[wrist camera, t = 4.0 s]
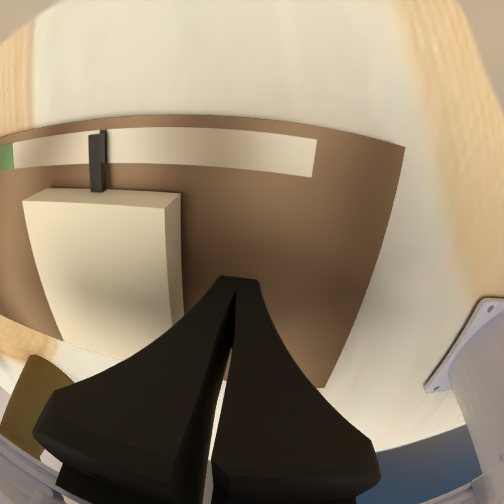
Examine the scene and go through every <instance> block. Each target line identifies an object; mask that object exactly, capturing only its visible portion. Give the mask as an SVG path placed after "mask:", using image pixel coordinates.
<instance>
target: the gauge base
mask: <svg viewBox="0 0 504 504" xmlns="http://www.w3.org/2000/svg"><path fill="white" fill-rule="evenodd" d="M99 133H105V172H106V189H111V190H134V191H152V192H168V193H181V266H182V289H183V307H184V315H185V314H186V313H187V312H188V311H189V310H190V309H191V308H192V307H193V306H194V305H195V304H196V303H197V302H198V301H199V300H200V299H201V298H202V297H203V295H204V294H205V293H206V292H207V291H208V290H209V288H210V287H211V286H212V285H213V283H214V282H215V281H216V279H217V278H218V277H219V276H221V275H223V276H231V277H240V278H248V279H257V280H258V281H259V282H260V288H261V292H262V296H263V299H264V302H265V305H266V307H267V310H268V312H269V314H270V317H271V319H272V321H273V324H274V326H275V328H276V330H277V332H278V334H279V335H280V337H281V339H282V341H283V343H284V344H285V346H286V348H287V350H288V351H289V353H290V354H291V356H292V357H293V359H294V360H295V362H296V363H297V365H298V366H299V368H300V369H301V370H302V372H303V373H304V374H305V376H306V377H307V378H308V380H309V381H310V382H311V383H312V384H313V385H314V387H315V388H324V387H325V385H326V383H327V381H328V379H329V377H330V375H331V373H332V371H333V369H334V367H335V365H336V363H337V360H338V358H339V356H340V354H341V352H342V349H343V347H344V345H345V343H346V340H347V338H348V336H349V333H350V331H351V329H352V326H353V324H354V321H355V319H356V316H357V314H358V311H359V309H360V306H361V304H362V301H363V298H364V296H365V293H366V290H367V287H368V285H369V282H370V279H371V276H372V273H373V270H374V267H375V264H376V261H377V258H378V255H379V252H380V249H381V245H382V242H383V239H384V235H385V232H386V228H387V225H388V221H389V217H390V214H391V210H392V206H393V202H394V198H395V194H396V190H397V185H398V181H399V176H400V172H401V167H402V162H403V157H404V151H405V147H403V146H399V145H396V144H393V143H389V142H385V141H381V140H377V139H374V138H369V137H365V136H361V135H357V134H352V133H348V132H343V131H338V130H333V129H328V128H322V127H316V126H310V125H304V124H298V123H291V122H283V121H275V120H266V119H257V118H246V117H232V116H214V115H144V116H127V117H114V118H103V119H94V120H86V121H78V122H72V123H65V124H59V125H53V126H48V127H43V128H38V129H33V130H29V131H24V132H20V133H16V134H12V135H8V136H4V137H1V138H0V315H2V316H4V317H7V318H9V319H11V320H13V321H15V322H17V323H20V324H22V325H24V326H26V327H29V328H31V329H33V330H36V331H38V332H41V333H43V334H46V335H48V336H51V337H53V338H56V339H59V340H61V341H64V340H63V338H62V335H61V333H60V331H59V328H58V326H57V324H56V321H55V319H54V316H53V314H52V311H51V308H50V306H49V303H48V300H47V297H46V295H45V292H44V289H43V286H42V283H41V279H40V276H39V273H38V270H37V266H36V263H35V259H34V255H33V251H32V247H31V243H30V239H29V235H28V230H27V225H26V220H25V215H24V209H23V203H22V201H23V200H25V199H27V198H28V197H30V196H32V195H34V194H36V193H38V192H40V191H42V190H44V189H46V188H68V189H91V188H90V174H89V150H88V135H91V134H99ZM231 350H232V347H231ZM230 361H231V351H230V355H229V359H228V362H227V366H226V370H225V374H224V377H223V380H225V381H227V377H228V372H229V366H230Z"/></svg>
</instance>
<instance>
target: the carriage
mask: <svg viewBox="0 0 504 504" xmlns="http://www.w3.org/2000/svg"><path fill="white" fill-rule="evenodd" d="M88 150H89V174H90V188H91V189H68V188H46V189H44V190H42V191H40V192H38V193H36V194H34V195H32V196H30V197H28V198H27V199H25V200H23V201H22V203H23V209H24V215H25V220H26V225H27V230H28V235H29V239H30V243H31V247H32V251H33V255H34V259H35V263H36V266H37V270H38V273H39V276H40V279H41V283H42V286H43V289H44V292H45V295H46V297H47V300H48V303H49V306H50V308H51V311H52V314H53V316H54V319H55V321H56V324H57V326H58V328H59V331H60V333H61V335H62V338H63V340H64V342H66V343H68V344H71V345H74V346H77V347H80V348H83V349H86V350H89V351H92V352H95V353H99V354H102V355H105V356H109V357H112V358H116V359H119V360H123V361H124V360H125V359H127V358H129V357H130V356H132V355H134V354H135V353H137V352H138V351H140V350H141V349H143V348H144V347H146V346H147V345H149V344H150V343H152V342H153V341H154V340H156V339H157V338H158V337H160V336H161V335H162V334H163V333H165V332H166V331H167V330H168V329H170V328H171V327H172V326H173V325H174V324H175V323H176V322H177V321H179V320H180V319H181V318H182V317H183V316H184V307H183V289H182V266H181V193H168V192H152V191H134V190H111V189H106V172H105V133H99V134H91V135H88Z"/></svg>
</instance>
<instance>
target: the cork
mask: <svg viewBox="0 0 504 504" xmlns="http://www.w3.org/2000/svg"><path fill="white" fill-rule="evenodd" d="M71 384H74V382H73V381H72V380H71V379H70V378H69V377H68V376H67V375H66V374H64V373H63V372H62V371H61V370H60V369H59V368H57V367H56V366H55V365H53V364H52V363H50V362H49V361H47V360H45V359H44V358H42V357H40V356H37V355H30V357H29V358H28V360H27V362H26V364H25V366H24V368H23V371H22V373H21V375H20V377H19V379H18V381H17V384H16V386H15V388H14V391H13V393H12V395H11V398H10V400H9V403H8V405H7V408H6V410H5V413H4V416H3V419H2V421H1V424H0V434H1V435H2V436H4V437H5V438H6V439H8V440H9V441H10V442H12V443H13V444H15V445H16V446H17V447H19V448H20V449H22V450H23V451H25V452H26V453H28V454H29V455H31V456H32V457H34V458H35V459H37V460H38V461H40V462H41V460H40V455H41V454H42V452H43V451H44V449H45V448H44V447H42V446H41V445H40V444H39V443H38V442H37V441H36V440H35V438H34V437H33V435H32V430H33V428H34V426H35V424H36V422H37V420H38V418H39V416H40V414H41V412H42V410H43V408H44V406H45V404H46V403H47V401H48V399H49V398H50V396H51V395H52V393H53V392H54V390H57V389H60V388H63V387H66V386H68V385H71Z"/></svg>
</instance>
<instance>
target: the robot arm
mask: <svg viewBox="0 0 504 504" xmlns="http://www.w3.org/2000/svg"><path fill="white" fill-rule="evenodd" d="M231 347H232V350H231ZM230 351H231V361H230V366H229V372H228V377H227V383H226V388H225V393H224V398H223V403H222V409H221V414H220V418H219V423H218V428H217V433H216V438H215V443H214V447H213V452H212V456H211V464H212V475H213V485H214V487H213V493H212V500H211V504H356V496H358V495H360V494H362V493H363V492H365V491H367V490H369V489H371V488H372V487H373V486H375V485H377V483H378V482H379V481H380V478H381V475H380V470H379V464H378V460H377V456H376V453H375V450H374V447H373V445H372V442H371V440H370V439H369V438H368V437H366V436H365V435H364V434H363V433H361V432H360V431H359V430H358V429H356V428H355V427H354V426H353V425H352V424H350V423H349V422H348V421H347V420H346V419H345V418H344V417H343V416H342V415H341V414H340V413H339V412H338V411H337V410H336V409H335V408H334V407H333V406H332V405H331V404H330V403H329V402H328V401H327V400H326V399H325V398H324V397H323V396H322V395H321V393H320V392H319V391H318V390H317V389H316V388H315V387H314V385H313V384H312V383H311V382H310V381H309V380H308V378H307V377H306V376H305V374H304V373H303V372H302V370H301V369H300V368H299V366H298V365H297V363H296V362H295V360H294V359H293V357H292V356H291V354H290V353H289V351H288V350H287V348H286V346H285V344H284V343H283V341H282V339H281V337H280V335H279V334H278V332H277V330H276V328H275V326H274V324H273V321H272V319H271V317H270V314H269V312H268V310H267V307H266V305H265V302H264V299H263V296H262V292H261V288H260V282H259V281H258V280H257V279H248V278H240V277H231V276H223V275H221V276H219V277H218V278H217V279H216V281H215V282H214V283H213V285H212V286H211V287H210V288H209V290H208V291H207V292H206V293H205V294H204V295H203V297H202V298H201V299H200V300H199V301H198V302H197V303H196V304H195V305H194V306H193V307H192V308H191V309H190V310H189V311H188V312H187V313H186V314H185V315H184V316H183V317H182V318H181V319H180V320H179V321H177V322H176V323H175V324H174V325H173V326H172V327H171V328H170V329H168V330H167V331H166V332H165V333H163V334H162V335H161V336H160V337H158V338H157V339H156V340H154V341H153V342H152V343H150V344H149V345H147V346H146V347H144V348H143V349H141V350H140V351H138V352H137V353H135V354H134V355H132V356H130V357H129V358H127V359H125V360H124V361H122V362H120V363H118V364H116V365H114V366H112V367H110V368H108V369H107V370H105V371H103V372H101V373H99V374H96V375H94V376H92V377H89V378H87V379H85V380H82V381H79V382H77V383H74V384H71V385H68V386H66V387H63V388H60V389H57V390H54V392H53V393H52V395H51V396H50V398H49V399H48V401H47V403H46V404H45V406H44V408H43V410H42V412H41V414H40V416H39V418H38V420H37V422H36V424H35V426H34V428H33V430H32V435H33V437H34V438H35V440H36V441H37V442H38V443H39V444H40V445H41V446H42V447H44V448H45V449H46V450H47V451H48V452H49V453H51V454H52V455H53V456H54V457H56V458H57V459H58V460H59V461H61V462H62V463H63V465H62V467H61V470H60V472H57V471H55V470H53V469H52V468H50V467H48V466H47V465H45V464H43V463H41V462H40V461H38V460H37V459H35V458H34V457H32V456H31V455H29V454H28V453H26V452H25V451H23V450H22V449H20V448H19V447H17V446H16V445H15V444H13V443H12V442H10V441H9V440H8V439H6V438H5V437H4V436H2V435H1V434H0V504H66V503H65V501H64V498H63V496H62V495H64V496H66V497H68V498H70V499H72V500H74V501H76V502H78V503H80V504H202V503H203V494H204V487H205V479H206V471H207V463H208V456H209V449H210V442H211V436H212V429H213V422H214V416H215V410H216V405H217V400H218V396H219V392H220V389H221V385H222V381H223V377H224V374H225V370H226V366H227V362H228V359H229V355H230ZM449 389H453V392H454V394H455V396H456V399H457V401H458V404H459V406H460V409H461V411H462V414H463V416H464V419H465V421H466V424H467V427H468V429H469V432H470V435H471V438H472V441H473V444H474V447H475V450H476V453H477V456H478V459H479V463H480V466H481V470H482V475H481V476H479V477H477V478H476V479H474V480H473V481H472V482H471V483H468V484H466V485H464V486H462V487H460V488H458V489H456V490H453V491H451V492H449V493H447V494H444V495H442V496H439V497H437V498H434V499H431V500H429V501H426V502H423V503H421V504H504V299H500V298H484V299H482V300H481V301H480V302H479V304H478V305H477V307H476V309H475V311H474V313H473V314H472V316H471V318H470V320H469V321H468V323H467V325H466V327H465V328H464V330H463V332H462V333H461V335H460V336H459V338H458V340H457V341H456V343H455V344H454V346H453V347H452V349H451V350H450V352H449V353H448V355H447V356H446V358H445V359H444V361H443V362H442V363H441V365H440V366H439V368H438V369H437V370H436V372H435V373H434V374H433V376H432V377H431V378H430V380H429V381H428V382H427V384H426V385H425V386H424V391H425V393H432V392H438V391H444V390H449ZM60 493H61V494H62V495H61V494H60Z"/></svg>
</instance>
